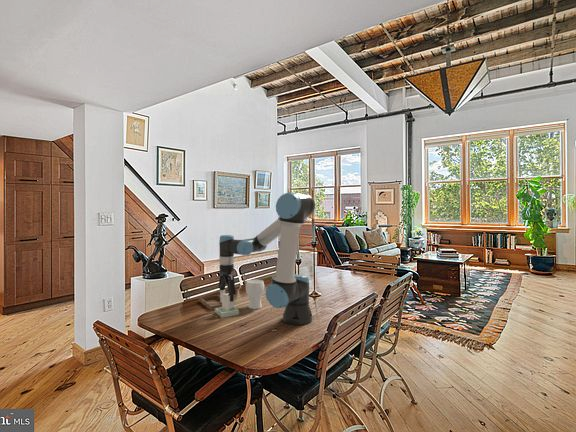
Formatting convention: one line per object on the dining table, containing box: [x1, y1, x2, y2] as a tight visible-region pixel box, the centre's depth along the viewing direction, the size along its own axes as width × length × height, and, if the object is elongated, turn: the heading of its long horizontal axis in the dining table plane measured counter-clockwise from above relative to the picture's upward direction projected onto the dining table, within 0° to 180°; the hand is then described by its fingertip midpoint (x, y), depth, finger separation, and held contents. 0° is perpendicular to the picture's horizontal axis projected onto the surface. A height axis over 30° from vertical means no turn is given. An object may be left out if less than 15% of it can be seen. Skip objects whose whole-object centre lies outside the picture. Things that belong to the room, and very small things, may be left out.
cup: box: [245, 279, 265, 310], centre depth 193 cm, size 11×11×15 cm
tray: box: [198, 294, 222, 312], centre depth 197 cm, size 21×12×3 cm, turn 32°
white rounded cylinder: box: [222, 292, 231, 312], centre depth 181 cm, size 5×5×10 cm
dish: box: [214, 306, 240, 319], centre depth 181 cm, size 10×10×2 cm
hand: (226, 304), depth 181 cm, fingers open, 11 cm apart
